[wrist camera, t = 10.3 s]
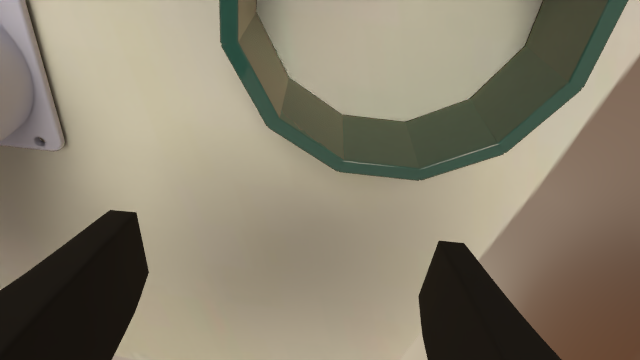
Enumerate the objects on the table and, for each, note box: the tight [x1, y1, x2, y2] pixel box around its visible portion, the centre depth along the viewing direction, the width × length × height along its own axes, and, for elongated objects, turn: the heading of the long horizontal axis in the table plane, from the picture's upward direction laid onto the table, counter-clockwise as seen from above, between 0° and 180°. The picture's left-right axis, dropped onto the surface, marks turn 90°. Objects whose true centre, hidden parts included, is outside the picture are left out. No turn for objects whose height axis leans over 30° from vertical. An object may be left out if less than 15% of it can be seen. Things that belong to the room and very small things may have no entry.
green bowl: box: [219, 0, 628, 181], centre depth 15 cm, size 12×12×4 cm
